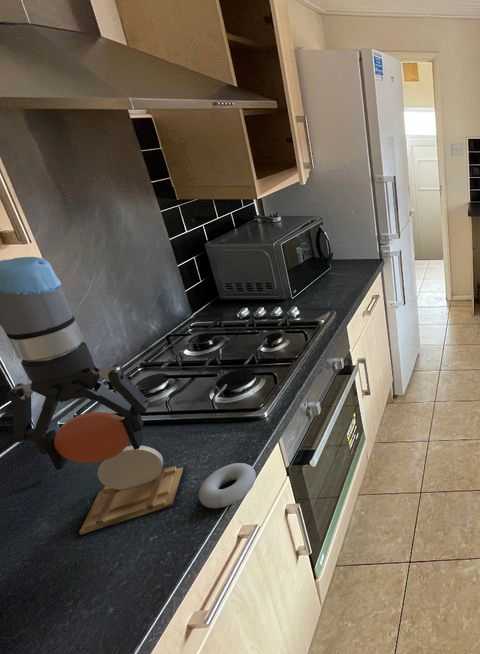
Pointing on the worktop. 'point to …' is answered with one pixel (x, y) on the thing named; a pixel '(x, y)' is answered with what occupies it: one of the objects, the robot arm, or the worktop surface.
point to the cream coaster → (131, 468)
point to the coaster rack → (132, 500)
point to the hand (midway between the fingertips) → (102, 453)
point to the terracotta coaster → (91, 437)
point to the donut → (224, 497)
